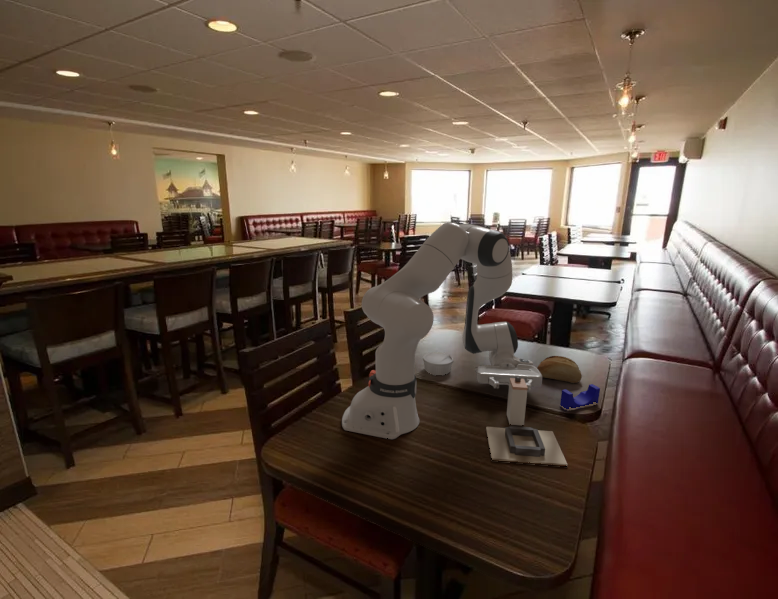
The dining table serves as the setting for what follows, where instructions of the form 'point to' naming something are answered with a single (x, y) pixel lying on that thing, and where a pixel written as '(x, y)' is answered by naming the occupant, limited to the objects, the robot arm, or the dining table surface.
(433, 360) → the ramekin
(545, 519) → the dining table surface
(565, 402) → the cable clip
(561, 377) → the bread roll
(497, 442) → the board
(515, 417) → the white and orange block
